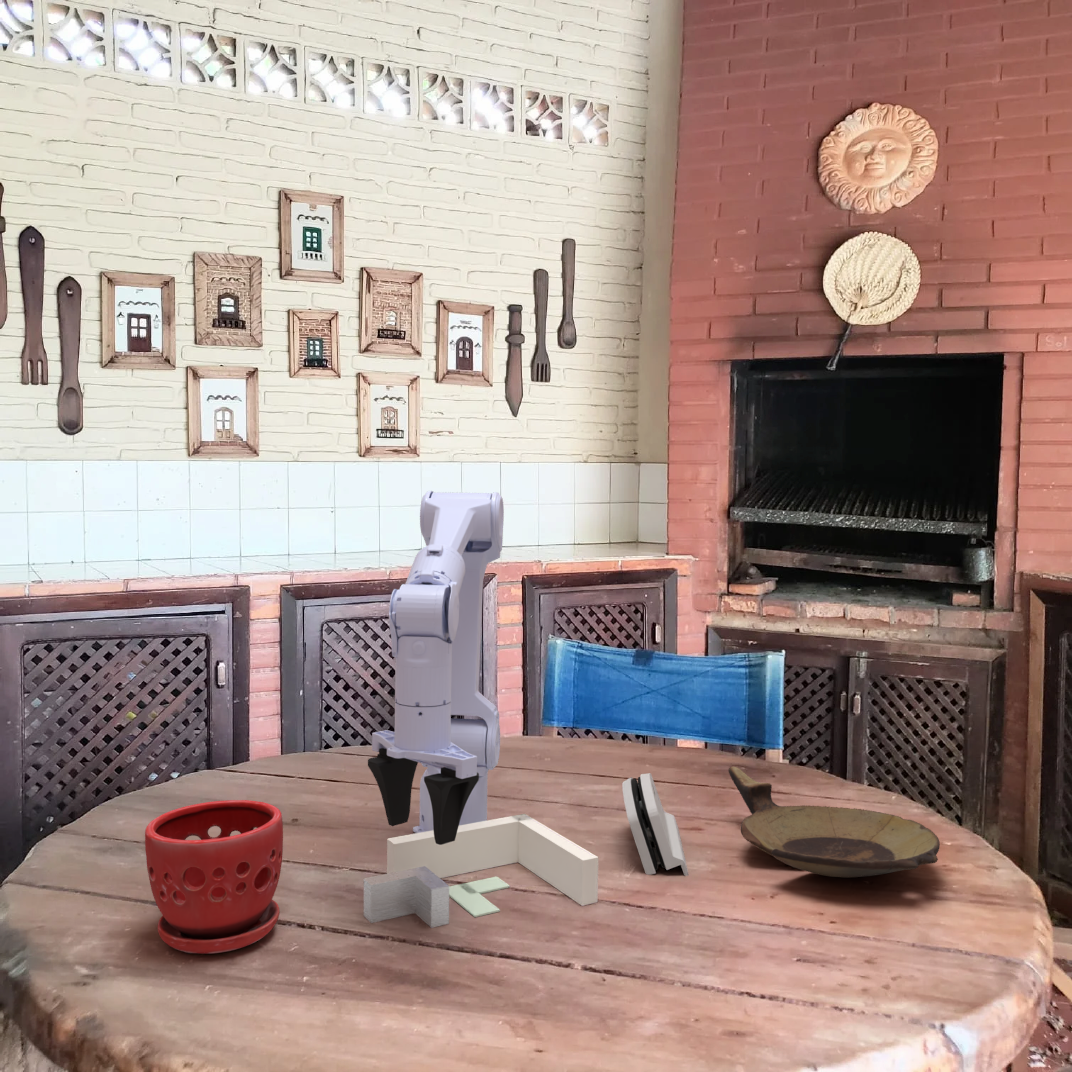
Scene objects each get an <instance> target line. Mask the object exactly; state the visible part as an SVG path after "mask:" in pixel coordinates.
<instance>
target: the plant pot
mask: <svg viewBox="0 0 1072 1072" xmlns="http://www.w3.org/2000/svg"><path fill="white" fill-rule="evenodd" d="M212 827H218V828H219V829H220V833H219V835H218V836H215V837H213V836H210V833H209V830H210V829H211V828H212ZM235 831H236V832H239V834H235V835H234V834H233V835H231V834H232V832H235ZM192 836H193V837H197V838H199V839H187V838H190V837H192ZM144 845H145V846H144V848H145V858H146V868H147V869H146V870H147V874H148V875H147V876H148V879H149V884H150V889H151V893H152V896H153V899H154V902H155V904H156V906H157V908H158V910H159V912H160V914H161V915H162V916H161V917H160V918H159V920H158V923H157V933H158V936H159V937H160V939H161V940H162V941H163V942H164V943H165V944H166V945H168V946H169V947H171V948H172V949H174V950H178V951H181V952H183V953H185V954H188V955H189V954H190V955H191V954H199V955H200V954H209V955H210V954H212V955H213V954H219V953H226V952H232V951H235V950H238V949H242V948H245V947H248V946H249V945H252V944H254V943H256V942H257V941H260V940H261V939H263V938H264V937H265V936H267V935H268V934H269V933H270V932H271V931H272V930H273V928H274V927H275V925H276V923H277V921H278V920H279V916H280V912H281V911H280V907H279V904H278V903H277V902H276V900H274V899H273V898H274V896H275V893H276V890H277V888H278V884H279V880H280V877H281V871H282V870H281V869H282V864H283V863H282V861H283V851H284V850H283V849H284V824H283V815H282V811H281V810H280V809H279V808H278V807H277V806H276V805H272V804H270V803H267V802H264V801H257V800H251V799H250V800H249V799H248V800H247V799H230V800H228V799H227V800H216V801H215V800H214V801H207V802H201V803H195V804H191V805H190V804H189V805H185V806H183V807H182V806H181V807H179V808H175V809H172V810H169V811H166V812H165V813H163V814H161V815H159V816H158V817H155V818H154V819H152V820H151V821H150V822H149V823H148V824H147V825H146V828H145V830H144Z"/></svg>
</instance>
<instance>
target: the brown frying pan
mask: <svg viewBox="0 0 1072 1072" xmlns="http://www.w3.org/2000/svg"><path fill="white" fill-rule="evenodd" d="M728 774H729V776H730V778H731V780H732V782H733V784H734V786H735V787H736V789H737V790H738V793H739V794H740V795H741V798H742V799H743V801H744V803H745V804H746V807H747V809H748V810H749V812H750V815H748V816H747V817H745V818H744V819H743V820H742V821H741V823H740V833H741V835H742V837H743V838H744V839H745V840H746V841H747V842H749V843H750V844H752V846H754V847H755V848H757V849H759V850H761V851H763V852H765V853H766V854H768V855H770V856H772V857H773V858H775V859H776V860H778V861H780V862H781V863H784V864H786V865H788V866H790V867H792V868H794V869H798V870H801V871H805V872H808V873H812V874H816V875H820V876H825V877H830V878H831V877H832V878H842V879H843V878H858V877H859V878H861V877H872V876H879V875H884V874H890V873H894V872H900V871H904V870H905V871H906V870H915V869H917V868H918V866H923V865H930V864H935V863H937V862H938V860H939V859H938V856H937V855H938V853H939V851H940V848H941V847H940V846H941V844H940V839H939V837H938V836H937V835H936V834H935V832H934V831H932V830H931V829H930V828H928V827H926V826H924V825H923V824H922V823H920V822H917V821H915V820H913V819H907V818H906V819H905V818H903V817H902V816H899V815H896V814H889V813H885V812H881V811H874V810H868V809H861V808H850V807H843V806H842V807H841V806H840V807H837V806H826V805H825V806H820V805H805V804H804V805H784V806H782V805H778V804H776V803H775V802H774V801H773V799H772V787H773V786H772V783H770V782H760V781H756V780H755V779H753V778H751V777H750V776H749V775H747V774H746V772H744V771H743V770H742V769H741V768H740V767H737V766H733V765H731V766H730V767H729V768H728Z"/></svg>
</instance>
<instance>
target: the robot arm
mask: <svg viewBox="0 0 1072 1072" xmlns="http://www.w3.org/2000/svg"><path fill="white" fill-rule="evenodd" d="M504 510H505V509H504V500H503V497H502V495H501V494H500V493H499V492H498V491H494V492H492V493H491V492H451V491H450V492H449V491H448V492H447V491H445V492H444V491H443V492H442V491H441V492H440V491H438V492H436V491H435V492H434V491H433V490H428V491H426V492H425V494H424V495H423V496H422V499H421V501H420V508H419V528H420V533H421V535H422V537H423V539H424V543H425V545H426V546H424V547H423V548H421V549H420V550H419V551H418V552H417V553H416V555H415V557H414V560H413V563H412V565H411V568H410V570H409V573H408V576H407V579H406V582H405V583H402V584H401V586H400V587H399V589H397V588H393V590H392V592H391V596H390V600H389V607H388V624H389V632H390V637H391V655H392V657H393V658H395V666H394V667H395V669H394V670H395V675H394V677H395V678H394V679H395V680H394V686H395V687H394V694H395V695H394V731H391V730H388V729H386V730H382V731H381V730H380V731H375V732H372V733H371V734H372V735H371V740H372V741H371V750H372V751H374V752H377V756H374V757H371V758H368V759H367V767H368V769H369V770H370V771H371V774H372V775H373V777H374V779H375V781H376V783H377V786H378V788H379V792H380V795H381V798H382V801H383V805H384V811H385V815H386V819H387V823H388V825H389V826H390V827H394V826H398V825H402V824H405V823H408V822H409V818H410V812H411V799H412V791H413V790H412V788H413V783H414V777H415V774H416V771H417V766H418V763H419V764H421V765H422V767H423V768H426V769H425V771H424V772H423V774H422V775H421V777H420V781H419V782H420V783H419V825H417V826H413V827H412V831H413V832H414V834H415V833H421V832H426V831H432V830H434V838H435V842H436V844H439V845H442V844H446V843H449V842H452V841H455V838H456V834H457V830H458V826H459V825H465V824H471V823H476V822H482V821H487V820H488V778H489V777H488V775H489V774H488V772H489V771H492V770H494V769H495V767H496V766H498V764H499V758H500V752H501V751H500V749H501V726H500V712H499V710H498V707H497V706H496V705H495V704H494V702H492V701H490V700H489V699H488V698H487V697H486V696H484V695H483V694H482V693H481V692H480V691H479V690H480V689H479V686H480V667H481V666H480V665H481V663H480V662H481V642H482V641H481V636H482V617H483V615H482V613H483V591H484V589H483V588H484V578H485V575H486V574H485V573H486V571H487V567H488V564H489V563H492V562H493V561H496V560H498V559H501V552H502V550H503V538H504V537H503V536H504V517H505V516H504ZM452 716H472V717H478V719H476V718H456V717H455V718H454V717H452ZM451 717H452V718H451ZM479 718H481V719H479Z"/></svg>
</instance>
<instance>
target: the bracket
mask: <svg viewBox="0 0 1072 1072" xmlns="http://www.w3.org/2000/svg"><path fill="white" fill-rule="evenodd" d="M449 886H450V885H449V884H447V883H446V882H445V881H444V880H443V879H442V878H439V877H438V876H437V875H435V874H434V873H433V872H432V871H430V870H429V869H428V868H427V867H425V866H423V867H418V868H413V869H408V870H403V871H398V872H393V873H388V874H387V873H385V874H378V875H375V876H373V875H372V876H370V877H365V878H363V917H364V918H365V919H366V920H367V921H368V922H369V923H370V924H373V923H377V922H381V921H385V920H386V921H387V920H390V919H395V918H399V917H403V916H408V915H413V914H415V915H416V916H418V918H420V919H421V920H422V922H424V923H425V924H426V925H427V926H429V927H430V928H431V929H432V928H436V927H441V926H445V925H449V924H450V896H449Z"/></svg>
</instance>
